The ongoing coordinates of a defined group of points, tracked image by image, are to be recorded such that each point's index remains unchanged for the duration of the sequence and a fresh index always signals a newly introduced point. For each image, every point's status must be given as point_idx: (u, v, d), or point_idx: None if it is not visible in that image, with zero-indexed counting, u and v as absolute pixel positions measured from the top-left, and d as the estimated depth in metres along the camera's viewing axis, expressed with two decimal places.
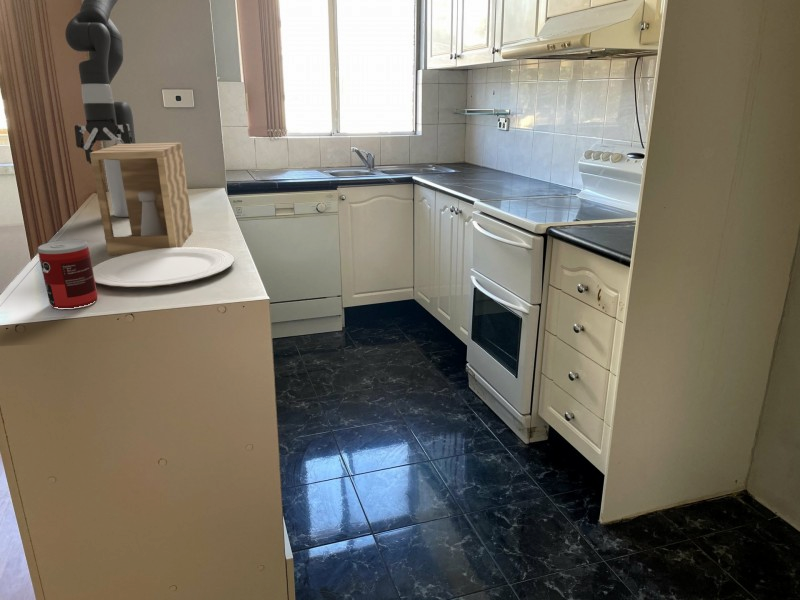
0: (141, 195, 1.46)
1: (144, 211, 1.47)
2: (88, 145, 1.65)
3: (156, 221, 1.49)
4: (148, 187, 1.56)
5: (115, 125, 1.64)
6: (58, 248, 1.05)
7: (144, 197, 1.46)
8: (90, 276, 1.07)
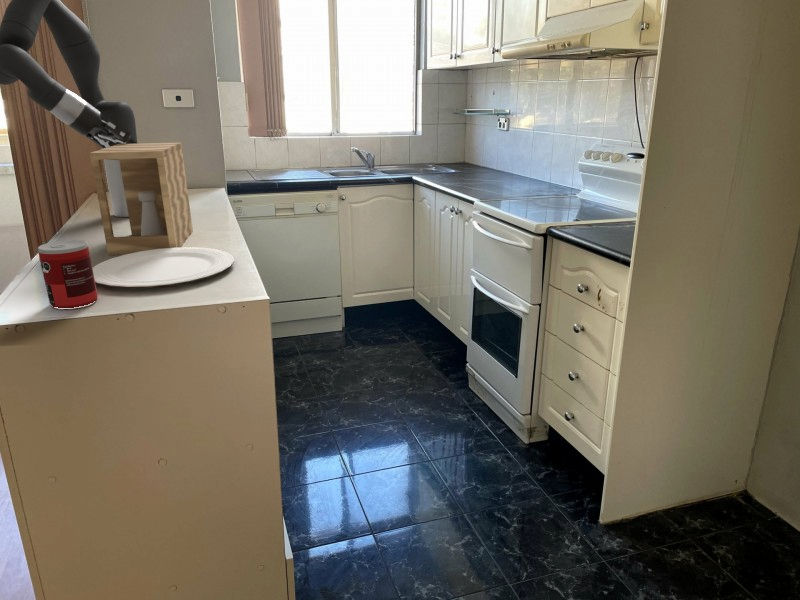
0: (141, 195, 1.46)
1: (144, 211, 1.47)
2: (107, 146, 1.59)
3: (156, 221, 1.49)
4: (148, 187, 1.56)
5: (102, 128, 1.50)
6: (58, 248, 1.05)
7: (144, 196, 1.46)
8: (90, 276, 1.07)
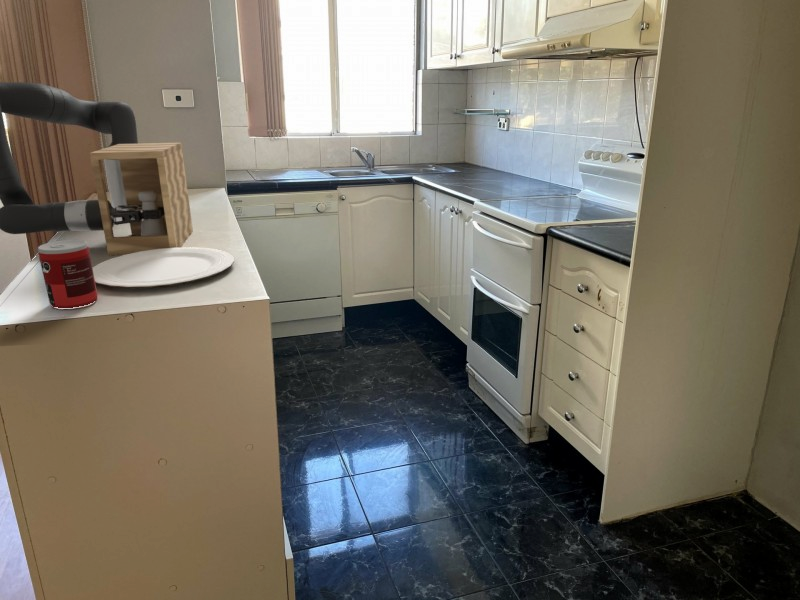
0: (141, 195, 1.46)
1: (144, 211, 1.47)
2: None
3: (156, 221, 1.49)
4: (148, 187, 1.56)
5: (113, 221, 1.45)
6: (58, 248, 1.05)
7: (144, 196, 1.46)
8: (90, 276, 1.07)
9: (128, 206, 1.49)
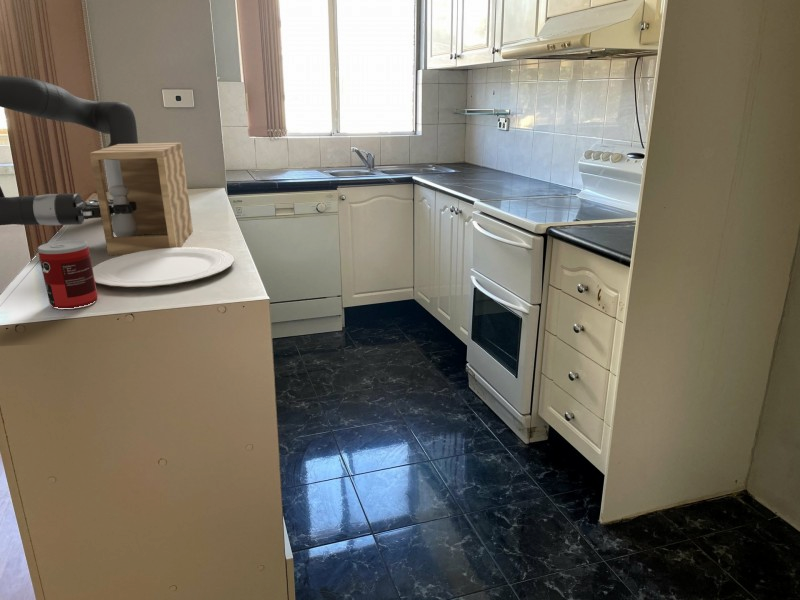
0: (112, 189, 1.44)
1: None
2: None
3: (127, 216, 1.47)
4: (148, 187, 1.56)
5: (83, 215, 1.43)
6: (58, 248, 1.05)
7: (114, 191, 1.44)
8: (90, 276, 1.07)
9: None
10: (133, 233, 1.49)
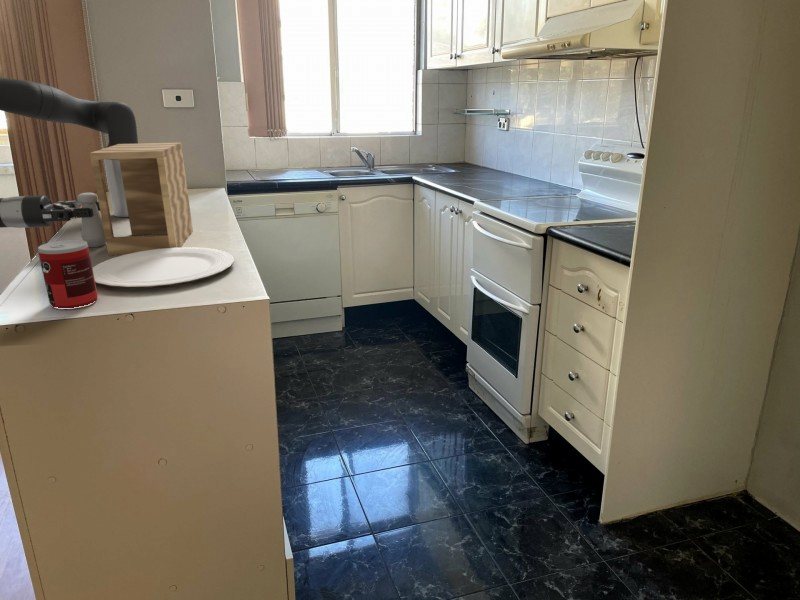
0: (79, 197, 1.44)
1: None
2: None
3: (96, 223, 1.47)
4: (148, 187, 1.56)
5: None
6: (58, 248, 1.05)
7: (82, 199, 1.44)
8: (90, 276, 1.07)
9: (68, 202, 1.47)
10: (103, 241, 1.49)
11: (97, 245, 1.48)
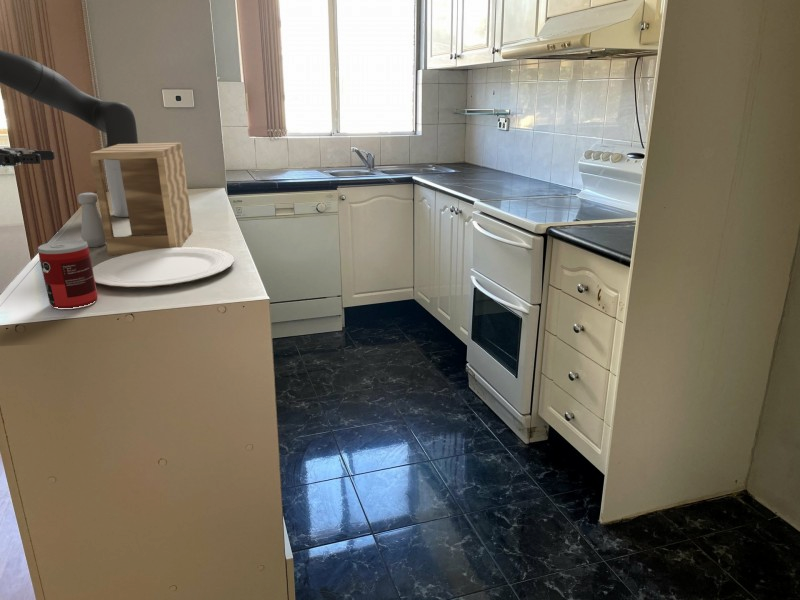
0: (80, 197, 1.44)
1: (84, 213, 1.45)
2: None
3: (96, 223, 1.47)
4: (148, 187, 1.56)
5: None
6: (58, 248, 1.05)
7: (82, 199, 1.44)
8: (90, 276, 1.07)
9: (16, 148, 1.42)
10: (103, 241, 1.49)
11: (97, 245, 1.48)
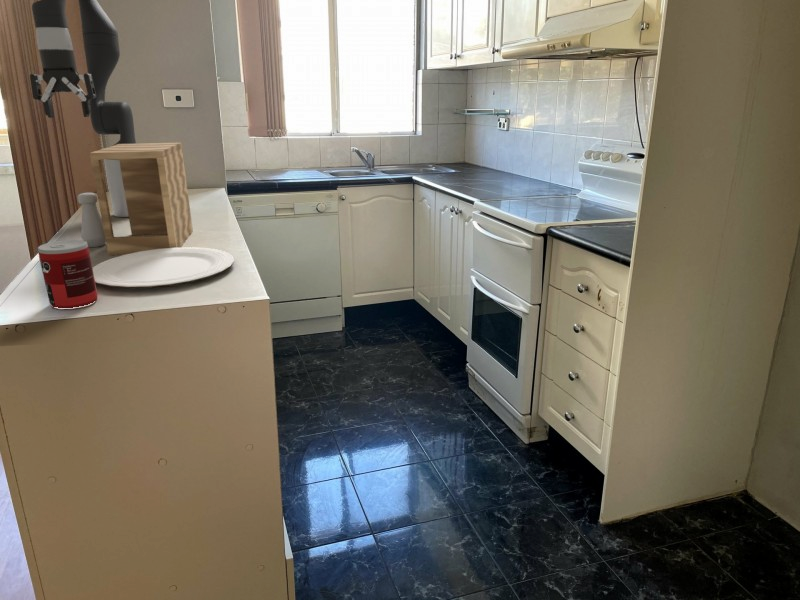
0: (80, 197, 1.44)
1: (84, 213, 1.45)
2: (46, 97, 1.50)
3: (96, 223, 1.47)
4: (148, 187, 1.56)
5: (75, 75, 1.49)
6: (58, 248, 1.05)
7: (82, 199, 1.44)
8: (90, 276, 1.07)
9: None
10: (103, 241, 1.49)
11: (97, 245, 1.48)
